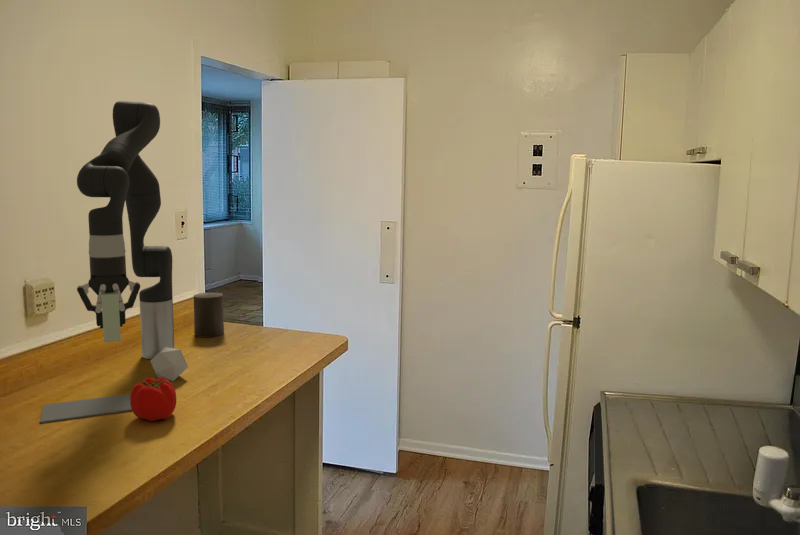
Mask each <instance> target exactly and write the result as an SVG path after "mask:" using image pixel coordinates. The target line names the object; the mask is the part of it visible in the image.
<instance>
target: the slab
mask: <svg viewBox="0 0 800 535" xmlns="http://www.w3.org/2000/svg"><path fill="white" fill-rule="evenodd" d="M101 300H102V316H103V328H102V331H103V332H102V334H103V343H113V342H121V341H122V338H121V327H120V316H119V294H118V293H114V292H112V293H104V294H101Z"/></svg>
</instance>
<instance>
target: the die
mask: <svg viewBox="0 0 800 535" xmlns="http://www.w3.org/2000/svg"><path fill="white" fill-rule="evenodd" d="M174 348H175V347H174ZM174 348H168V347H165V348H164V349H163V350H162V351H160V352H159V353H158V354H157V355H156V356H155V357H154V358H153V359H150V364H151V366H152V368H153V370H154V373H155V375H156V377H157V379H159V378H165V379H167V380H168V381H169V380H170V381H171V382H174V381H175V380H176V379H178V377H180V376H181V374H183V373H184V372H185V371H187V369H188V368H189V365H188V363H187V361H186V359H185V356H184V354H183V352H182V350H181V349H179V348H175V349H174ZM170 381H169V382H170Z"/></svg>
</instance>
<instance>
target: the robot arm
mask: <svg viewBox="0 0 800 535" xmlns="http://www.w3.org/2000/svg"><path fill="white" fill-rule="evenodd" d="M112 123H113V130H114V134H115V136H114V137H113V138H111V139H110V140H109V141H108V142H107V143H106V144H105V145H104V148H103V149H102V151H101V152H100V154H99V155H97V156H95V157H94V158H92V159H91V160H89V161H88V162H87V163H85V164H84V165H83V166H82V167H81V169H79V171H78V174H77V177H76V186H77V189H78V190H79V192H80V193H81V194H82V195H84V196H85V197H87V198H88V197H89V198H109V202H108V203H107V205H106V206H102V207H98V208H97V207H96V208H93V209H91V210H89V212H88V215H87V216H88V230H89V231H88V233H89V237H88V239H89V240H88V255H89V271H90V272H89V275H90V276H89V277H90V278H89V280H88V282H86V283H84V284H82V285H81V284H80V285H78V286H77V287H76V291H77V294H78V295H79V297H80V300H81V301H82V303H83V305H84V307H85V309H86V310H87V311H88V312H93V313H95V318H96V319H95V320H96V326H97V327H99V329H103V316H102V300H101V294H104V293H112V292H114V293H118V294H119V316H120V328H121V327H122V328H123V327H124V326H123V325H125V324H126V320H127V319H126V310H129V309H132V308H134V305H135V302H136V300H137V297H138V296H139V316H140V319H139V320H140V334H141V335H140V336H141V356H142V358H143V359H146V360H152V359H153V358H154V357H155V356H156V355H157V354H158V353H159V352H160V351H162V350H163V349H164V348H165V347H168V348H174V349H176V347H175V324H174V304H173V301H174V300H173V299H174V297H173V253H172V249H171V248H170V246H167V245H145V243H144V242H145V241H144V240H145V236H146V234H147V232H148V229H149V228H150V226H151V224H152V222H153V221H154V220H155V218H156V216H157V215H158V213H159V211H160V209H161V205H162V200H161V198H162V197H161V191H160V190H161V188H160V183H159V179H158V178H157V176H156V175H155V173H153V171H152V170H151V169H150V167H149V166H148V165H147V164H146V163H145V161H144V160H143V159H142V157H141V155H140V153H141V152H142V150H144V149H145V148H146V147H147V146H148V145H149V144H150V143H151V141H153V140H154V139H155V138H156V136H157V135H158V133H159V131H160V128H161V116H160V111H159V108H158V107H157V106H156V105H155V104H153V103H151V102H143V101H142V102H141V101H127V100H126V101H125V100H124V101H123V100H120V101H119V100H118V101H116V102H115V103H114V104H113V108H112ZM125 206H126V211H127V212H126V213H127V219H128V226H129V233H130V234H129V236H130V237H129V238H130V250H131V251H130V252H131V255H130V256H131V265H132V270H133V273H134V274H135V276H136V277H139V278H159V281H158V282H157V283H156V284H154V285H151V286H148V287H146V288H143V289H141V284H140V282H138V281H136V282H134V281H130V280H129V278H128V276H127V264H126V263H127V262H126V252H127V250H126V245H125V244H126V243H125V238H124V228H123V226H124V224H123V222H124V221H123V217H124V216H123V214H124V208H125ZM128 286H129V288H128V289H129V291H130V295H129V297H128V300H127V302H124V301H123V296H122V294H123V292H124V291H125V289H126V288H127V287H128ZM89 288H90V289H91V290H92V291H93V292H94V293H95V294H96V295H97V297H96V298H97V299H96V303H95V304H92V302H91V300H90V298H89V296H88V294H89ZM140 289H141V290H140Z"/></svg>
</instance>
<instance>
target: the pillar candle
mask: <svg viewBox="0 0 800 535" xmlns="http://www.w3.org/2000/svg"><path fill="white" fill-rule="evenodd" d="M223 294H224V293H221V292H209V291H208V290H207V292H200V293H196V294H193V322H194V323H193V324H194V326H193V328H194V332H193V333H194V335H195V337H199V338H216V337H219V336H223V335H224V334H225V324H224V321H225V320H224V318H225V317H224V295H223Z"/></svg>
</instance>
